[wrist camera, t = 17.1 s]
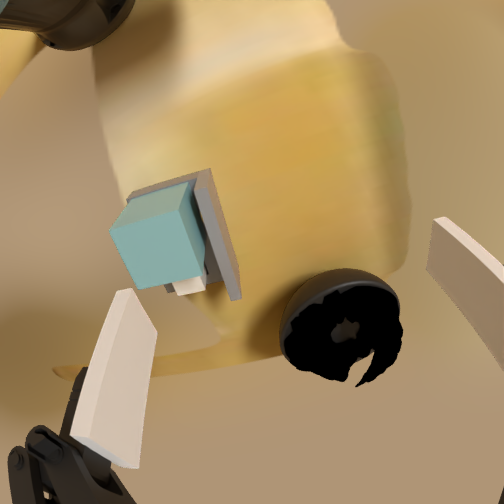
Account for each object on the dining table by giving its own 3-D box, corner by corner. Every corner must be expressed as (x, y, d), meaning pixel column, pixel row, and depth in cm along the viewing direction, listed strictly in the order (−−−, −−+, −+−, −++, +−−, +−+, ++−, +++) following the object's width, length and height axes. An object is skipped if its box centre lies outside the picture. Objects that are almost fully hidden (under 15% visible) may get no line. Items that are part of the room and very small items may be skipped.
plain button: (172, 253, 41) (167, 273, 37) (198, 247, 40) (195, 266, 36) (181, 275, 43) (178, 296, 39) (206, 269, 43) (205, 290, 38)
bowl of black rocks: (386, 297, 53) (430, 369, 37) (301, 344, 57) (322, 424, 41) (355, 221, 43) (417, 298, 27) (248, 284, 47) (261, 380, 31)
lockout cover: (131, 199, 35) (108, 230, 27) (188, 181, 35) (178, 209, 27) (152, 250, 39) (138, 290, 31) (206, 236, 39) (202, 275, 31)
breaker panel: (132, 191, 37) (113, 215, 31) (210, 168, 37) (207, 187, 30) (170, 281, 46) (163, 315, 39) (238, 265, 45) (241, 298, 39)
